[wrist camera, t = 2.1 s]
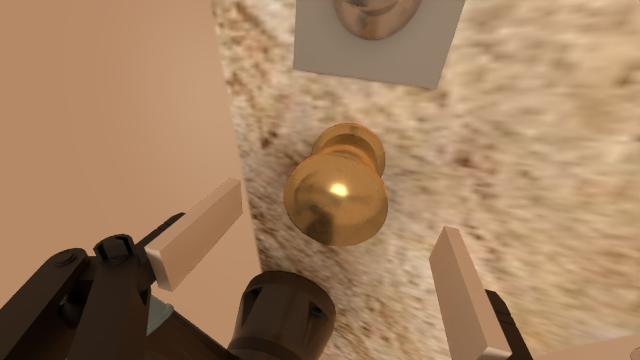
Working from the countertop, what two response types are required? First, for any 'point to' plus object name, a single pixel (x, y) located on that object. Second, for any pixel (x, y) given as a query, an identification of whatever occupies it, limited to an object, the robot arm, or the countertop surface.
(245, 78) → the countertop surface
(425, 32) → the plate
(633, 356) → the goblet set
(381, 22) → the narrow pipe stub
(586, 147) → the countertop surface
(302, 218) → the gold flared knob
